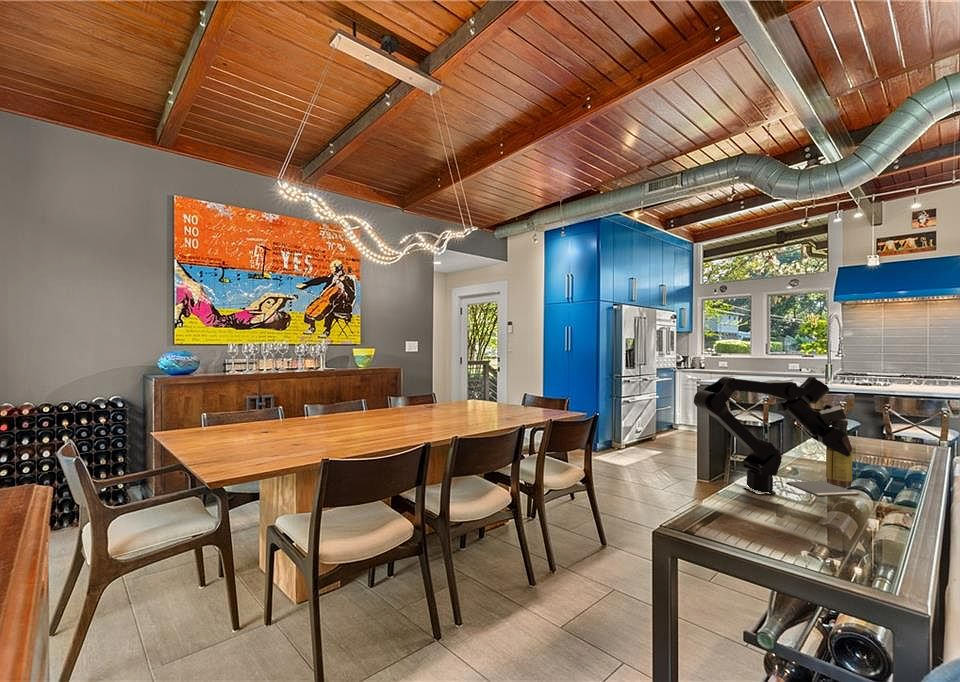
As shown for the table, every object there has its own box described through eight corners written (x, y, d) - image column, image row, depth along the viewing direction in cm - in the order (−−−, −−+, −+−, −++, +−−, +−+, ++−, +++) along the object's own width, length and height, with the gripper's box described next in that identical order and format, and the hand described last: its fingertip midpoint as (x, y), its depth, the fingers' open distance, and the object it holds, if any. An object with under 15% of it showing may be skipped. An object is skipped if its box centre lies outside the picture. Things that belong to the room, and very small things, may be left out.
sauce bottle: (856, 487, 136) (860, 421, 135) (842, 488, 134) (845, 421, 133) (833, 480, 142) (836, 417, 142) (819, 481, 140) (822, 417, 140)
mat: (818, 496, 137) (818, 494, 137) (786, 483, 149) (786, 481, 149) (858, 494, 139) (858, 493, 139) (823, 481, 151) (823, 480, 151)
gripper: (839, 401, 130) (884, 443, 126) (816, 393, 147) (855, 430, 144) (805, 425, 133) (848, 467, 129) (786, 414, 150) (824, 451, 147)
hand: (844, 453), depth 137 cm, fingers closed on sauce bottle, 6 cm apart
